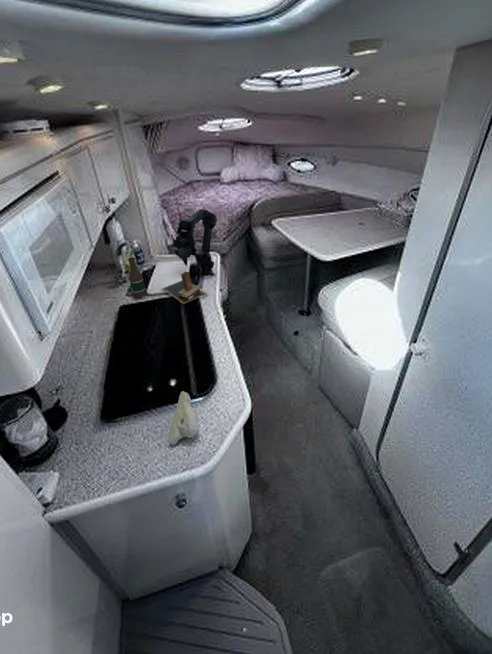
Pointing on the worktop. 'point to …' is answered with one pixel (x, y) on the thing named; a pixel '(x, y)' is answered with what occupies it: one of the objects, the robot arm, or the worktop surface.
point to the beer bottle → (136, 280)
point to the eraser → (187, 286)
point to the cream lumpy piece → (183, 420)
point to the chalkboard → (178, 287)
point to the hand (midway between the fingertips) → (192, 266)
